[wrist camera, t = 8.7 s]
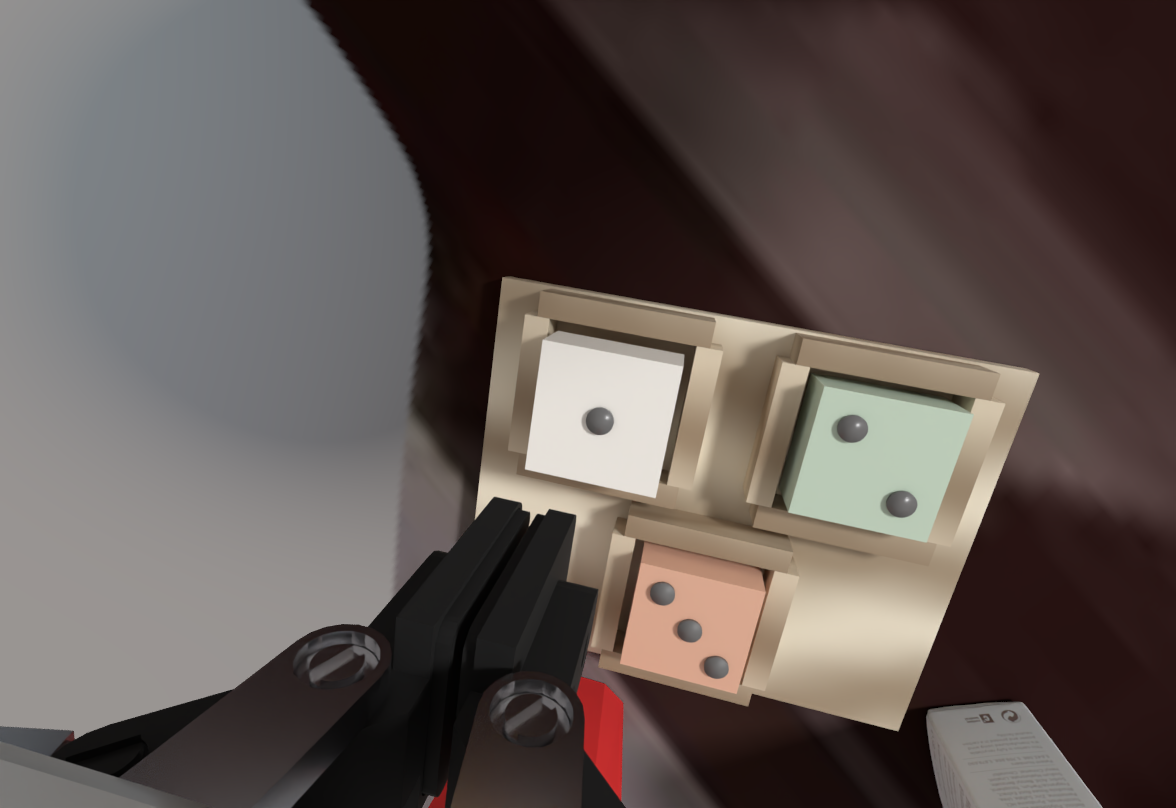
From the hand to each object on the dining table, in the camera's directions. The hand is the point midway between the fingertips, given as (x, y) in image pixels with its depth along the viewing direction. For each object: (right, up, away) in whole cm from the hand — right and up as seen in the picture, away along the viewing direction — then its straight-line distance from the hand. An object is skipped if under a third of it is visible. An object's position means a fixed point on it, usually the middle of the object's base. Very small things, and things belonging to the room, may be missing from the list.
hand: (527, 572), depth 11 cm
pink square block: (+6, -5, +15) cm, 17 cm away
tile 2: (+12, +2, +12) cm, 17 cm away
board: (+7, -1, +15) cm, 16 cm away
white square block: (+2, +3, +12) cm, 12 cm away
